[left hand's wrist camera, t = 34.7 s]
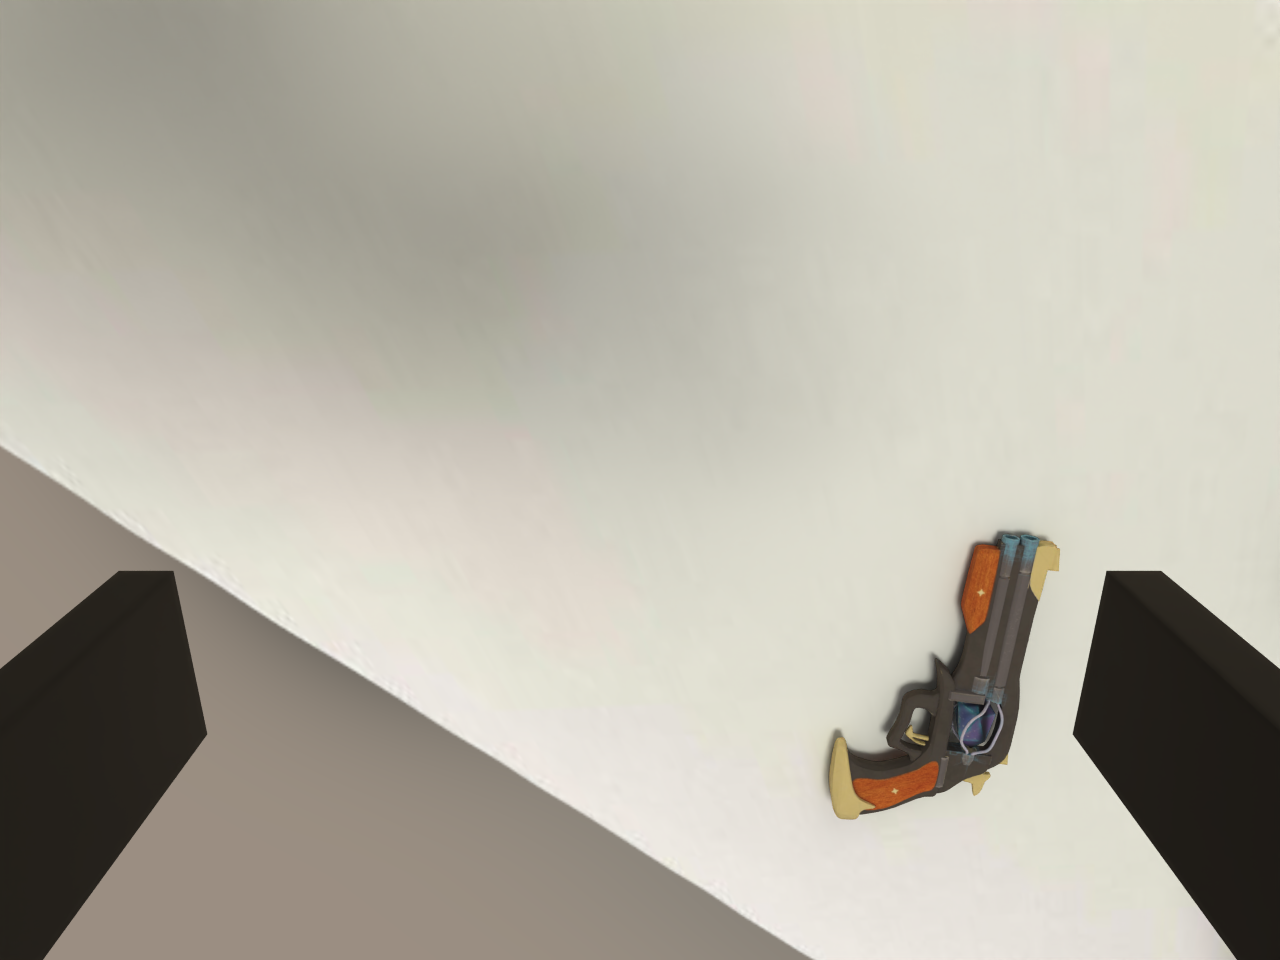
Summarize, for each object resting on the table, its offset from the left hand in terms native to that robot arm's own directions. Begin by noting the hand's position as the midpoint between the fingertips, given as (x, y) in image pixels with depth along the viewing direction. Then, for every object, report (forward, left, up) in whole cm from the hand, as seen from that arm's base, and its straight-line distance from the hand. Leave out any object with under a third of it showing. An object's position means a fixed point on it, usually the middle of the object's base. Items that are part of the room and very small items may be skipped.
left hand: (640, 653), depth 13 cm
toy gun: (+27, -7, -34) cm, 44 cm away
